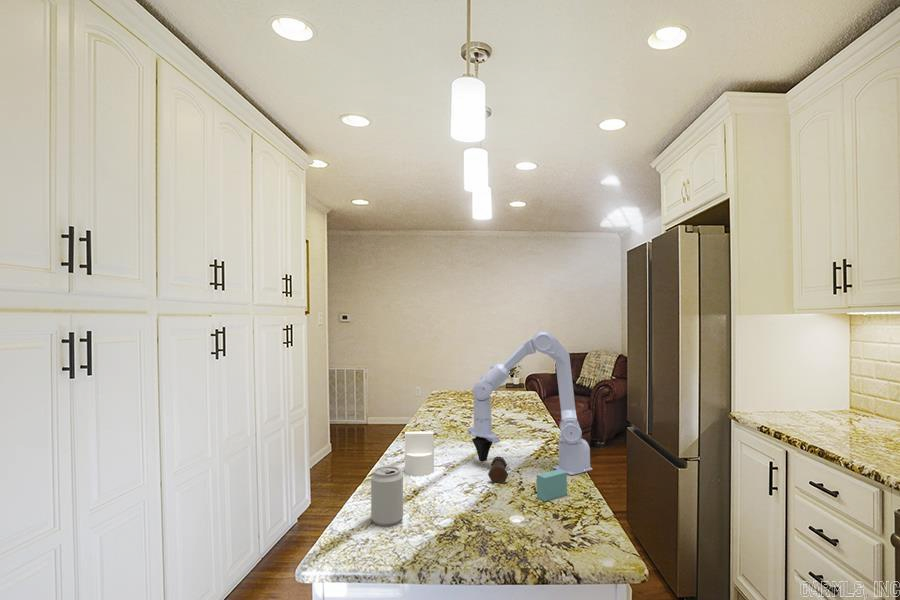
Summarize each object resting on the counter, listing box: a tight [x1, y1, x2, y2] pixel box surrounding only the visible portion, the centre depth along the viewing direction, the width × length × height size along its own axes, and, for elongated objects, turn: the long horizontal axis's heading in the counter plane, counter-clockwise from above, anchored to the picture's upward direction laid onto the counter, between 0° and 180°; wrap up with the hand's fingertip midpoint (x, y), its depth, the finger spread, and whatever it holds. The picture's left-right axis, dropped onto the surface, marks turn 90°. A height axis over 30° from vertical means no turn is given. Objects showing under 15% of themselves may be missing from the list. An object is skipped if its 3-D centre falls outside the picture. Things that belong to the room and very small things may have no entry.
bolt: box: [487, 456, 509, 485], centre depth 141 cm, size 6×5×15 cm
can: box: [370, 465, 404, 527], centre depth 111 cm, size 8×8×12 cm
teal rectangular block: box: [535, 469, 568, 502], centre depth 126 cm, size 8×6×6 cm
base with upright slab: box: [404, 430, 435, 477], centre depth 145 cm, size 9×9×12 cm
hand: (482, 460), depth 150 cm, fingers closed
